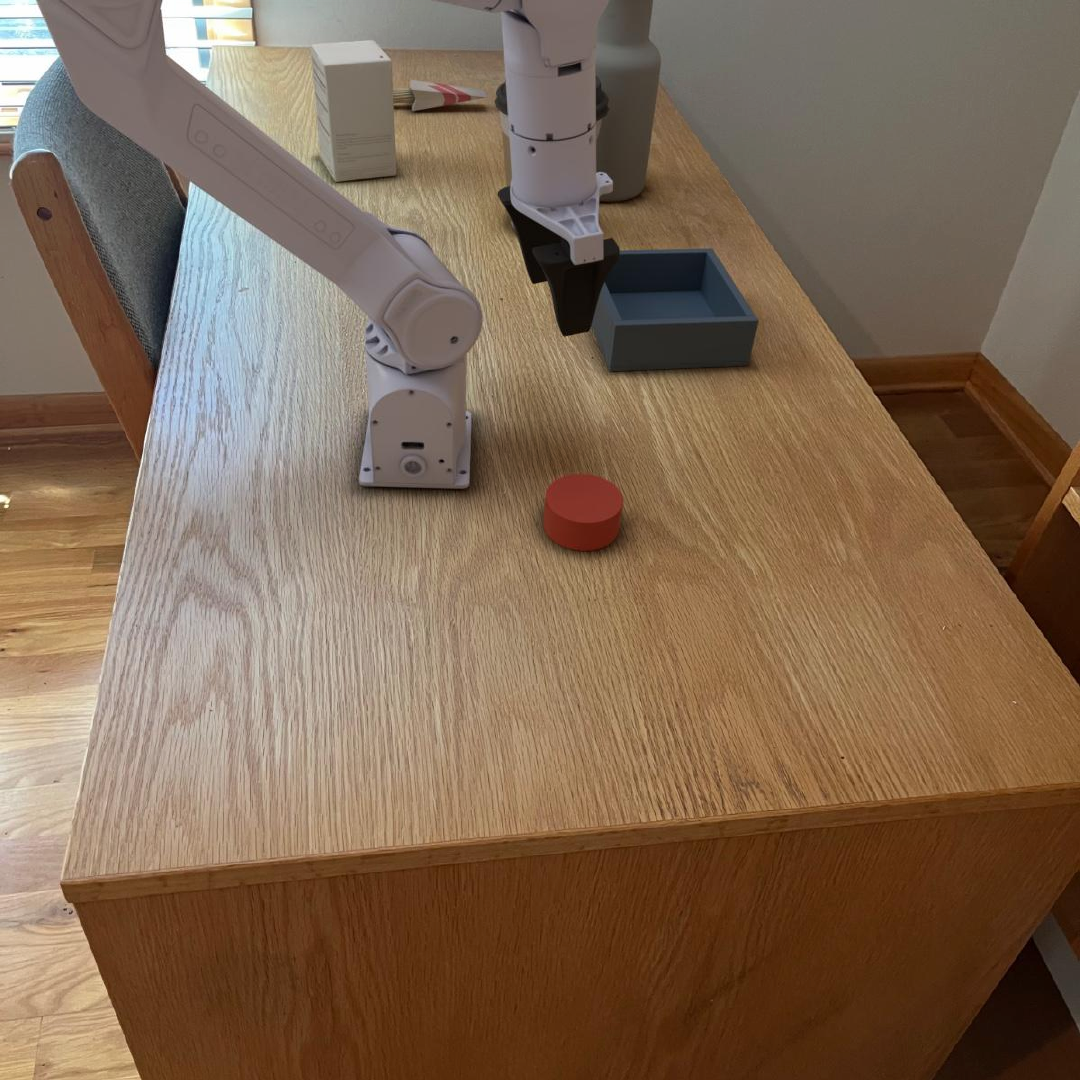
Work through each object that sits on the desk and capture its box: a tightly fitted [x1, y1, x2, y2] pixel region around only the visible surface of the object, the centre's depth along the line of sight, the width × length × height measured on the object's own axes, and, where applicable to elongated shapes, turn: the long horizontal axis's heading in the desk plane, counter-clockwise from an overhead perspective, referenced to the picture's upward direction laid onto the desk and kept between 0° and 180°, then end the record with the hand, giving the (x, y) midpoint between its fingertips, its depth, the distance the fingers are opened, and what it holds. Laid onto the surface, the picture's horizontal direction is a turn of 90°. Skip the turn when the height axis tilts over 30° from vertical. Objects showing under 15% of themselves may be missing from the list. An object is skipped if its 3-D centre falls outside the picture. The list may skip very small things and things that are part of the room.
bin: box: [591, 247, 760, 372], centre depth 93 cm, size 14×13×4 cm
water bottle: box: [595, 0, 662, 203], centre depth 108 cm, size 10×10×28 cm
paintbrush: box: [393, 79, 488, 112], centre depth 132 cm, size 4×3×20 cm
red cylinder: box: [542, 473, 624, 552], centre depth 72 cm, size 5×5×3 cm
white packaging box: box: [309, 39, 397, 183], centre depth 113 cm, size 7×7×13 cm
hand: (559, 304), depth 76 cm, fingers open, 7 cm apart
